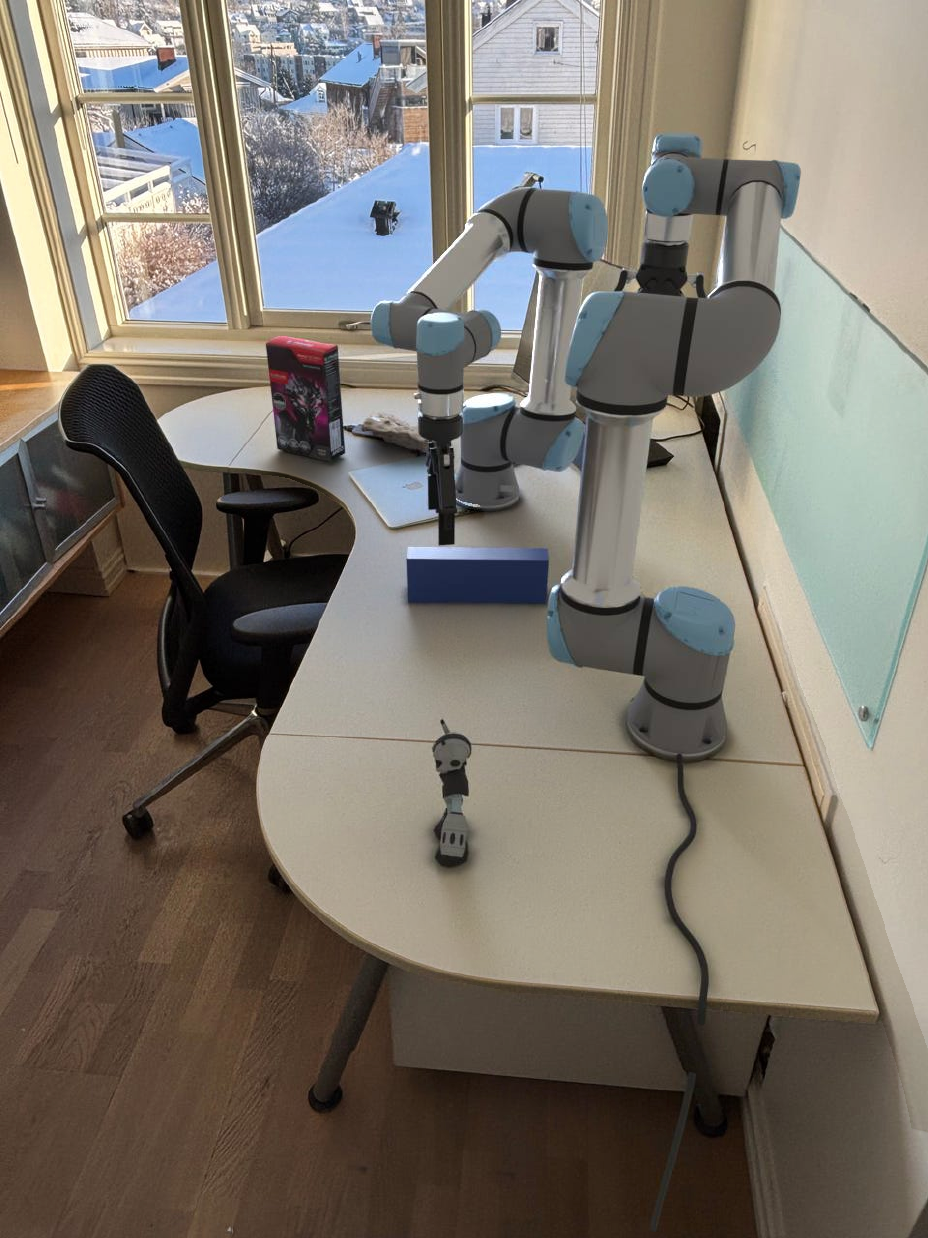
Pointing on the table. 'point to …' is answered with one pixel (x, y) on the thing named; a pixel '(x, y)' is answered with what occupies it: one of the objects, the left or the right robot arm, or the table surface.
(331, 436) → the graphics card box
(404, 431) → the stone
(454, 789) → the robot
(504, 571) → the bar
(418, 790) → the table surface
